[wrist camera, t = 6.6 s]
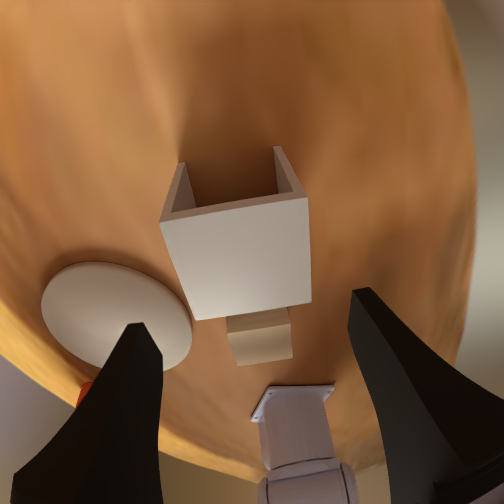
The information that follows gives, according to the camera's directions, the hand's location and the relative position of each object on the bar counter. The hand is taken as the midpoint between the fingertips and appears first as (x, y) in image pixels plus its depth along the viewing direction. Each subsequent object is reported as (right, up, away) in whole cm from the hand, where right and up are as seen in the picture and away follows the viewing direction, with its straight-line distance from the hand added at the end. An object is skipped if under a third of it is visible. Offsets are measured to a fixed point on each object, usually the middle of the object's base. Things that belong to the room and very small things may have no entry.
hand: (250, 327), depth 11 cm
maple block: (0, -1, +13) cm, 13 cm away
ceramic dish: (-11, -3, +13) cm, 18 cm away
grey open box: (-1, +6, +7) cm, 9 cm away
